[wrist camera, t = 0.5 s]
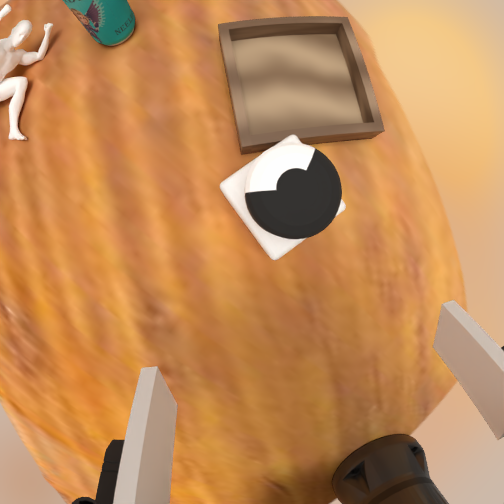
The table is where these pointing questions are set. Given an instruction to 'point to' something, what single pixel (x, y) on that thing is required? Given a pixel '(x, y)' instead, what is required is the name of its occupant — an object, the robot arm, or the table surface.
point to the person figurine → (6, 59)
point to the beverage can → (105, 19)
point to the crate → (297, 81)
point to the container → (285, 195)
